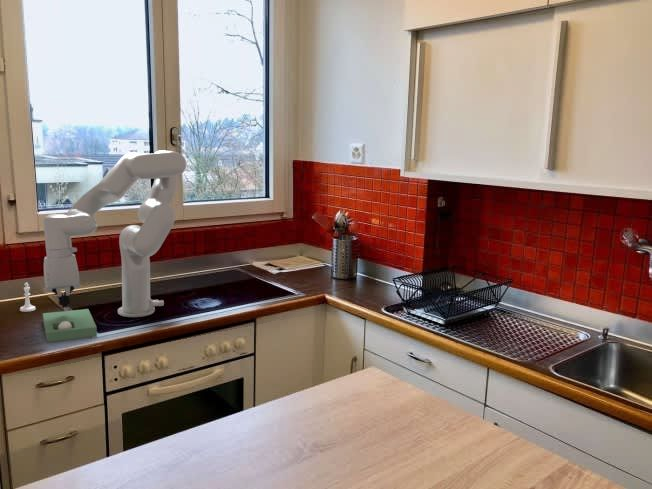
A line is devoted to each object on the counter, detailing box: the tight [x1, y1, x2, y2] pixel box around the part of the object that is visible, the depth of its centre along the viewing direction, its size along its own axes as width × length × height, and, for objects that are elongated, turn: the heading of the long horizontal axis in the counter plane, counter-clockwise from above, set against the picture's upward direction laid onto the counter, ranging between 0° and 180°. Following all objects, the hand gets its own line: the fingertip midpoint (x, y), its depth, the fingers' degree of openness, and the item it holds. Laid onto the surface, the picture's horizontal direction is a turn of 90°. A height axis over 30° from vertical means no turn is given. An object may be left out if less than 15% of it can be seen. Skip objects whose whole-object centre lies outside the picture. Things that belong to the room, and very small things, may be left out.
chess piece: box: [19, 281, 37, 313], centre depth 194 cm, size 5×5×10 cm
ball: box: [58, 321, 72, 329], centre depth 173 cm, size 4×4×4 cm
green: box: [42, 308, 98, 343], centre depth 178 cm, size 14×20×3 cm
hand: (64, 306), depth 182 cm, fingers closed
